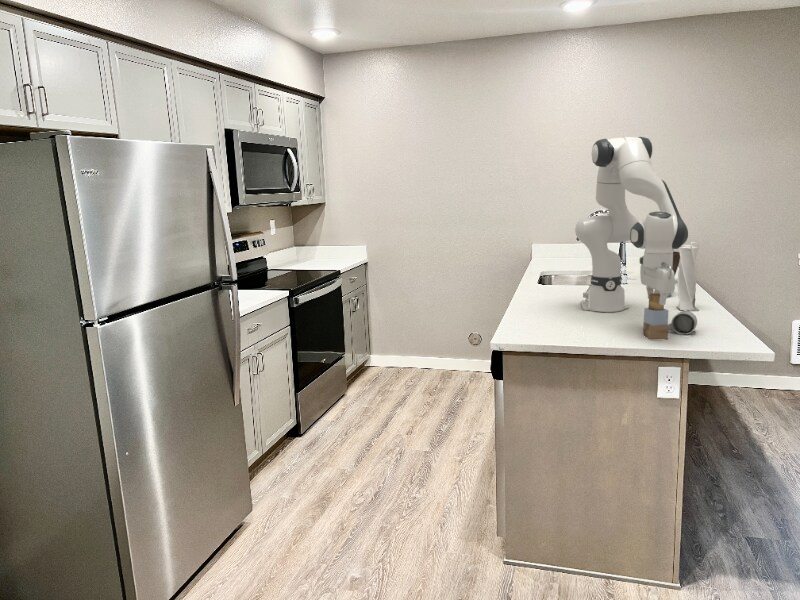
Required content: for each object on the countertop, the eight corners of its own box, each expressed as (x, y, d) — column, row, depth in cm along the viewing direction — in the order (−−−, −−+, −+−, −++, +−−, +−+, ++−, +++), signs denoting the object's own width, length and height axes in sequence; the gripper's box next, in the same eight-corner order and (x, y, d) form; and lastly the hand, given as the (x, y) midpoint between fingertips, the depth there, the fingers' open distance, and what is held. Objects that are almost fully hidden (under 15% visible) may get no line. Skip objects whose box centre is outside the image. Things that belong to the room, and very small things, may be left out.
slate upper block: (643, 322, 206) (644, 307, 205) (658, 321, 206) (659, 307, 205) (652, 325, 200) (652, 311, 199) (667, 324, 201) (668, 310, 200)
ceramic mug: (697, 330, 211) (698, 309, 209) (695, 335, 204) (695, 313, 202) (664, 328, 216) (665, 307, 215) (661, 333, 209) (662, 312, 208)
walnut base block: (642, 335, 207) (643, 321, 206) (660, 335, 207) (661, 321, 206) (649, 340, 201) (650, 325, 200) (667, 339, 201) (668, 325, 200)
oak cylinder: (646, 307, 205) (646, 293, 204) (660, 307, 205) (661, 292, 204) (651, 310, 200) (652, 295, 199) (666, 310, 200) (667, 295, 199)
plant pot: (656, 280, 316) (658, 250, 313) (685, 283, 305) (686, 251, 302) (642, 284, 307) (643, 253, 304) (670, 287, 295) (672, 254, 292)
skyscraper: (700, 311, 239) (703, 242, 234) (678, 311, 241) (681, 242, 236) (694, 307, 247) (697, 240, 242) (673, 307, 249) (676, 240, 244)
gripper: (681, 264, 189) (679, 307, 191) (655, 257, 209) (654, 296, 212) (661, 265, 189) (659, 308, 192) (637, 257, 209) (636, 296, 212)
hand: (656, 301), depth 202 cm, fingers open, 8 cm apart
